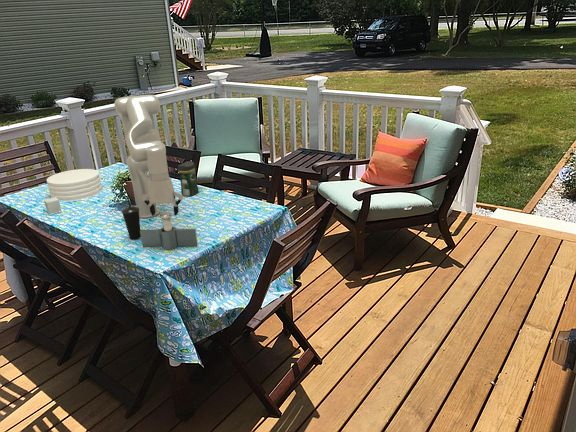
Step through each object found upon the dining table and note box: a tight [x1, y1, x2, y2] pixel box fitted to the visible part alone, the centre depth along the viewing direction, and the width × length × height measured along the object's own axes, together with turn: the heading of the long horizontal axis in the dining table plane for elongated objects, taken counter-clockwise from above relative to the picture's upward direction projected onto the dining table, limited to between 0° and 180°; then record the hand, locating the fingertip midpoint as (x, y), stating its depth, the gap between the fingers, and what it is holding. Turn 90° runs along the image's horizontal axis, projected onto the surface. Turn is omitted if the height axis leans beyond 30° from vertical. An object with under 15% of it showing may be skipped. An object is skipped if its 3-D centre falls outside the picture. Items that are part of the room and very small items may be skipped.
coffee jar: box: [177, 160, 199, 197], centre depth 265 cm, size 10×8×19 cm
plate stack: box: [46, 168, 103, 201], centre depth 275 cm, size 28×28×12 cm
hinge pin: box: [159, 211, 173, 232], centre depth 202 cm, size 5×5×15 cm
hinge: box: [140, 225, 199, 251], centre depth 203 cm, size 24×7×8 cm, turn 87°
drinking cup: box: [121, 195, 141, 241], centre depth 212 cm, size 8×8×20 cm
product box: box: [43, 197, 62, 215], centre depth 249 cm, size 6×6×7 cm
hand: (164, 214), depth 200 cm, fingers open, 9 cm apart
